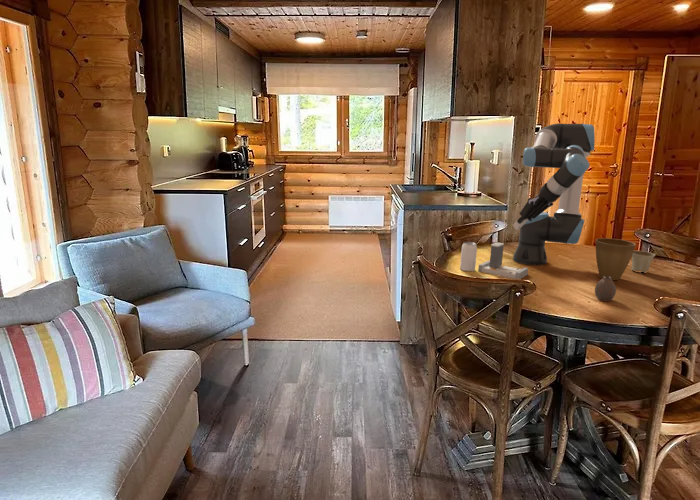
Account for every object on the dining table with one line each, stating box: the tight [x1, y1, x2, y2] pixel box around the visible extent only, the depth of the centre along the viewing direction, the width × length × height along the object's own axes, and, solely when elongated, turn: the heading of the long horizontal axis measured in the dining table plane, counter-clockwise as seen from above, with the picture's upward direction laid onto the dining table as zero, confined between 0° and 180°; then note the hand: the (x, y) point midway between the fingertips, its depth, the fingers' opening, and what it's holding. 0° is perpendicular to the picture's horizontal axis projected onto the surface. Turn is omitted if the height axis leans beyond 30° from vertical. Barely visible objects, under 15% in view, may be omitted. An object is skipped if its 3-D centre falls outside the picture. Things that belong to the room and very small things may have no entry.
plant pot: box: [595, 237, 637, 281], centre depth 207 cm, size 15×15×16 cm
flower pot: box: [631, 250, 656, 272], centre depth 219 cm, size 9×9×9 cm
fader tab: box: [489, 242, 505, 268], centre depth 213 cm, size 3×6×12 cm, turn 141°
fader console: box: [477, 259, 529, 280], centre depth 212 cm, size 18×10×3 cm, turn 51°
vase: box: [594, 276, 617, 302], centre depth 181 cm, size 7×7×9 cm
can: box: [459, 241, 478, 272], centre depth 215 cm, size 6×6×12 cm
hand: (515, 227), depth 206 cm, fingers closed
